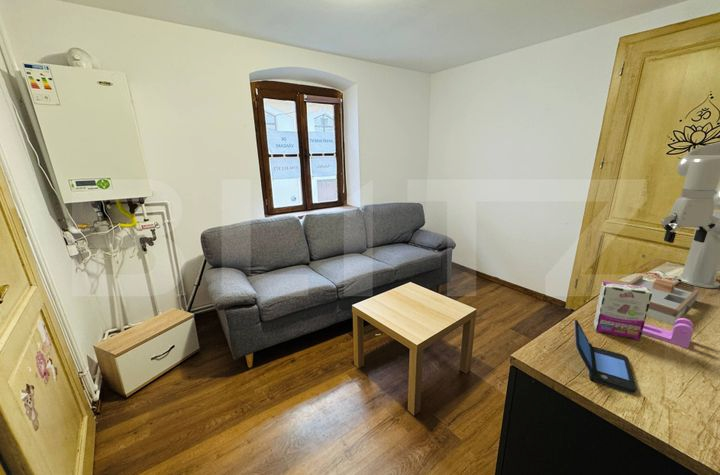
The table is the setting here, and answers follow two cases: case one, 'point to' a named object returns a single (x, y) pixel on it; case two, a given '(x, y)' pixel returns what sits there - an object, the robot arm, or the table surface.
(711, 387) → the table surface
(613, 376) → the handheld game console
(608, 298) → the candy bar box
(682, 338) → the bracket
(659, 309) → the box
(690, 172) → the robot arm
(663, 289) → the block
